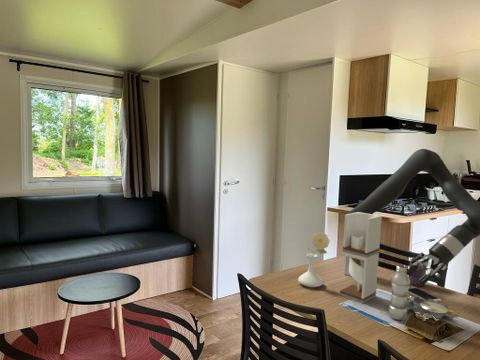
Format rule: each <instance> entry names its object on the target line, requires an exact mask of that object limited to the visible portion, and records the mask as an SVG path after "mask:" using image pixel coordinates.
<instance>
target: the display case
mask: <svg viewBox="0 0 480 360" xmlns="http://www.w3.org/2000/svg"><path fill="white" fill-rule="evenodd" d="M382 218H383V216H382V215H379V214H378V215H376V214H374V213H373V214H367V213H361V212H356V213H351V214H348V213H346V214H344V224H343V225H344V227H343V239H342V241H343V243H342V253H341V254H342V256H345V257H346V256H349V257H350V263H349V273H350V275H351V276H352V279H353V280H354V283H352V284H351V285H348V286H346V287H344V288H342V289H340V290H339V296H341V297H344V298H346V299H348V300H352V301H355V302H357V303H360V302H361V303H360V304H363V303H364V304H365V303H367V302H368V301H370V300H373V298H375V297H376V293H377V282H378V271H379V257H380V244H381V232H382V231H381V228H382ZM351 276H350V277H351Z"/></svg>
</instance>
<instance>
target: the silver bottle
mask: <svg viewBox="0 0 480 360" xmlns="http://www.w3.org/2000/svg"><path fill="white" fill-rule="evenodd" d="M407 270H408V267H407V266H406V265H403V264H396V269H395V271H396V272H395V273H394V274H393V275H392V276H391V278H390V279H391V299H390V304H389V306H388V315H389V317H390V318H392V319H393V320H396V321H404V320H406V319H407V318H408V313H407V298H408V294H409V292H408V289H409V287H410V285H411V284H410V279H409V276H408V275H407V274H406V273H407Z"/></svg>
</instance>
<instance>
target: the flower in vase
mask: <svg viewBox="0 0 480 360" xmlns="http://www.w3.org/2000/svg"><path fill="white" fill-rule="evenodd" d="M330 241H331V240H330V239H329V236H328V235H327V234H326V233H324V232H321V231H319V232H316V233H313V234H312V236H311V244H312V247H314V248H315V249H316V250H315V251H314V250H313V249H310V248H307V250H309V251H311V252H312V253H307V254H306V257H307V259H308V270H307V271H306V272H304V273H303V274H301V275H300V276H299V277H298V279H297V281H298V284H300V285H303V286H305V287H309V288H317V287H321V286H323V285H324V280H323V279H322V277H321V276H319V275H318V274H317V273H316V272H315V262H316V259H317V258H318V254H316V253H317V252H318V253H319V254H321V255H325V254H328V252H327V250H325V249H327V248H328V246H329V243H330Z"/></svg>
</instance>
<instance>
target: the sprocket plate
mask: <svg viewBox="0 0 480 360" xmlns="http://www.w3.org/2000/svg"><path fill="white" fill-rule="evenodd" d="M415 312H420V313H428V314H431V315H433V316H434V317H435V318H436V319H439V320H441V321H442V320H446V321H448V322H450V321H452V320H453V317H454V316H455V311H454V309H453V310H452V309H449V306H448V305H447V304H446V303H438V302H437V301H436V302H434V300H433V299H428V300H426V299H421V298H419V297H417V296H416V295H414V296H413V295H409V297H407V314H414V313H415Z"/></svg>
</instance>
